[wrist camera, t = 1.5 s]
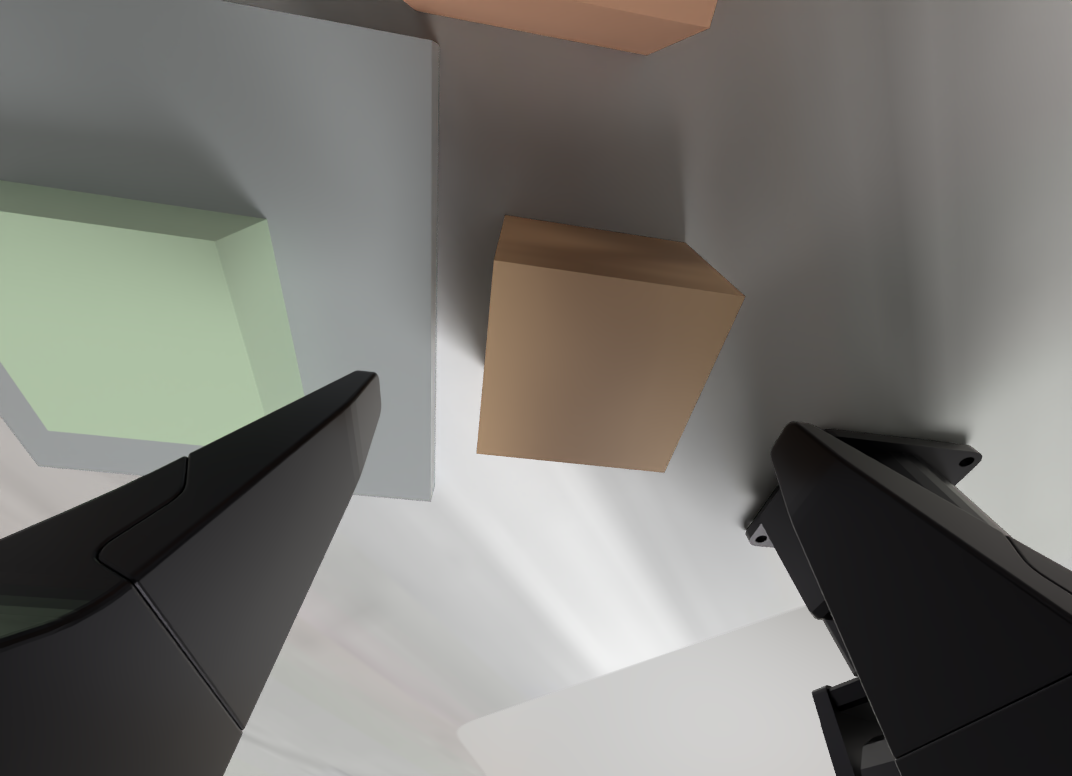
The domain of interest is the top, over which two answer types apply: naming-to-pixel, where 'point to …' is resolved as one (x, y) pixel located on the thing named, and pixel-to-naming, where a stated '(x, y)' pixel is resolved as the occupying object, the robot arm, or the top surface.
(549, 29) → the brick terracotta
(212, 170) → the plate
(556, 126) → the top surface
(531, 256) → the brown block
